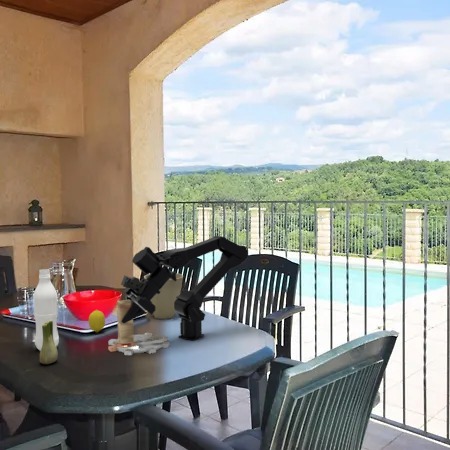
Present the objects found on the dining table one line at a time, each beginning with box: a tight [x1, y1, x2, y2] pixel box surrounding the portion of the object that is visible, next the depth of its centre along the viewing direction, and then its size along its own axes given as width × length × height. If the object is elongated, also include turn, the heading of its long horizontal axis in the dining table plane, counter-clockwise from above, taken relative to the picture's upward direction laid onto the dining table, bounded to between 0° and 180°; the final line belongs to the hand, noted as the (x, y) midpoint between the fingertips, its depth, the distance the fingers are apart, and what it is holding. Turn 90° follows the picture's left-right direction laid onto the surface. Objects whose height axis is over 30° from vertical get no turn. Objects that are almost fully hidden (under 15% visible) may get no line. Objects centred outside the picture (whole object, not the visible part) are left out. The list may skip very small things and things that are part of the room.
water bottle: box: [32, 268, 60, 352], centre depth 163 cm, size 7×7×25 cm
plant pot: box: [143, 272, 184, 320], centre depth 202 cm, size 15×15×16 cm
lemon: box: [88, 309, 106, 333], centre depth 182 cm, size 6×6×8 cm
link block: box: [116, 299, 135, 343], centre depth 164 cm, size 4×4×12 cm
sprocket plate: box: [107, 332, 170, 356], centre depth 167 cm, size 19×19×1 cm
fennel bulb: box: [39, 321, 59, 365], centre depth 151 cm, size 6×5×12 cm
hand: (120, 320), depth 164 cm, fingers closed on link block, 4 cm apart
